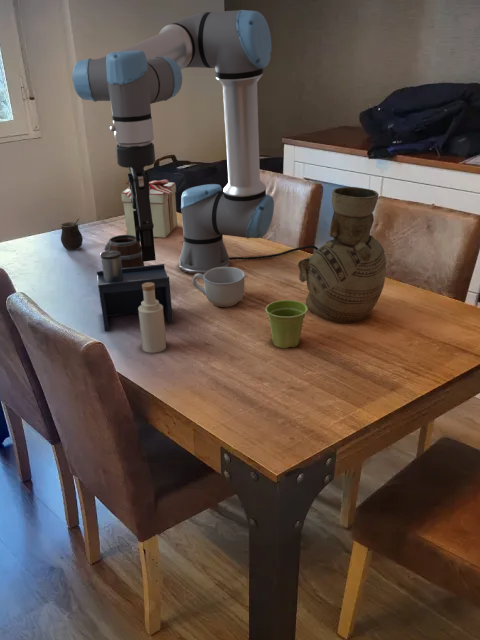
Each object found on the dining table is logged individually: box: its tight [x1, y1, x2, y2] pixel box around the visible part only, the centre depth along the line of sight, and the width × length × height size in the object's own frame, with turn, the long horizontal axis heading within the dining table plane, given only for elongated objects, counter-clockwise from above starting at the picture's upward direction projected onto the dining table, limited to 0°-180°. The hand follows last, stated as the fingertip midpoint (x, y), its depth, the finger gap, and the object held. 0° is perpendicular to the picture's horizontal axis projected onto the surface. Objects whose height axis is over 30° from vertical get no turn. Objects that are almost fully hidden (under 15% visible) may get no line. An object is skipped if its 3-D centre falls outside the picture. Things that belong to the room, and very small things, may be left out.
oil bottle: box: [138, 282, 167, 354], centre depth 144 cm, size 6×6×15 cm
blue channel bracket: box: [96, 263, 174, 332], centre depth 158 cm, size 17×10×12 cm, turn 101°
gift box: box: [120, 179, 178, 239], centre depth 219 cm, size 17×18×17 cm
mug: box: [104, 234, 145, 268], centre depth 175 cm, size 16×12×15 cm
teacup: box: [191, 266, 246, 308], centre depth 167 cm, size 14×11×8 cm
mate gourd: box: [60, 218, 84, 251], centre depth 209 cm, size 7×8×10 cm
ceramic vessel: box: [297, 186, 387, 324], centre depth 151 cm, size 19×21×30 cm
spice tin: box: [99, 250, 123, 283], centre depth 153 cm, size 5×5×7 cm
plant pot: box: [265, 299, 309, 349], centre depth 145 cm, size 9×9×9 cm
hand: (145, 250), depth 135 cm, fingers open, 13 cm apart
